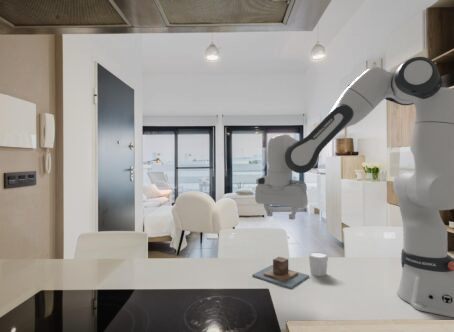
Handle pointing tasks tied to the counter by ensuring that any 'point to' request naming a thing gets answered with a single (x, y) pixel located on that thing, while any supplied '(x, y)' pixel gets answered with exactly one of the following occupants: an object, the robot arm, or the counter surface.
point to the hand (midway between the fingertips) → (280, 217)
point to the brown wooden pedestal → (280, 270)
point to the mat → (288, 284)
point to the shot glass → (318, 263)
